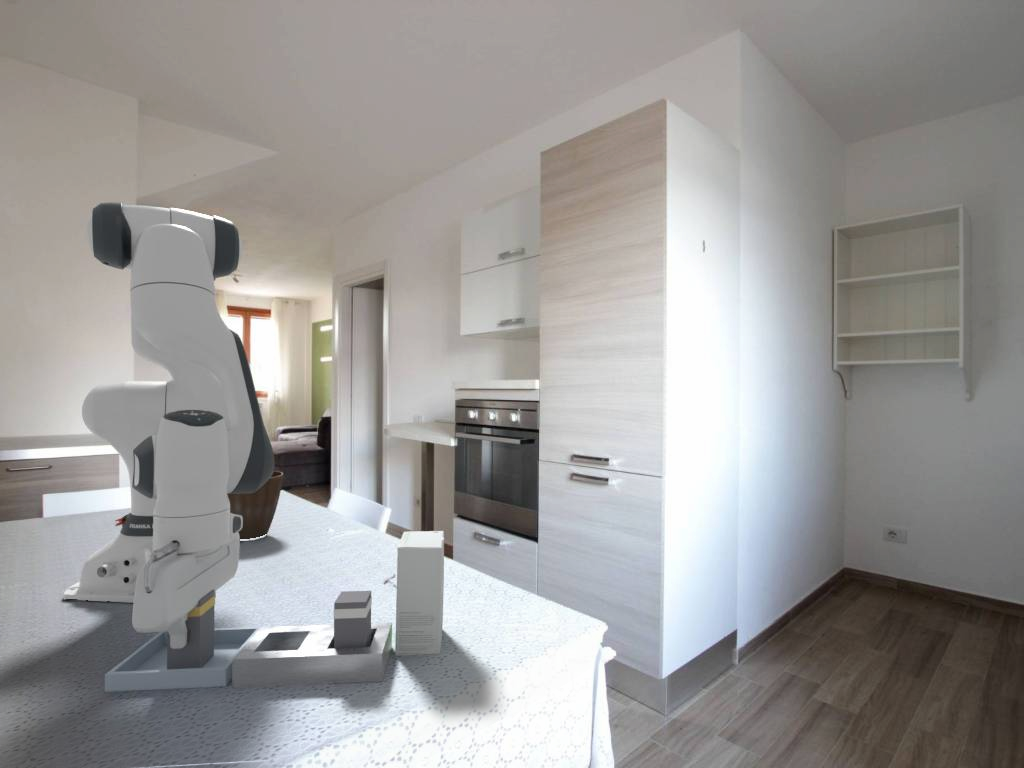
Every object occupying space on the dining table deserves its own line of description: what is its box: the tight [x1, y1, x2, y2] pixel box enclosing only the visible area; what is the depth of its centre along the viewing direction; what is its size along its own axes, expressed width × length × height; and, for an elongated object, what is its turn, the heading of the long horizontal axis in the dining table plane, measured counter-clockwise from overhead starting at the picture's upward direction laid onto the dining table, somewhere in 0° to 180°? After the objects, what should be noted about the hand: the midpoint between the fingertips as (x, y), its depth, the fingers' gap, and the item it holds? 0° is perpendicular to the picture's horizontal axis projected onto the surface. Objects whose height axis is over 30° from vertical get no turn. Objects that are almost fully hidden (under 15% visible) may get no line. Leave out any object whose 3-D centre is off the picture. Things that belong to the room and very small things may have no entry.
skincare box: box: [394, 530, 445, 656], centre depth 77 cm, size 8×7×16 cm
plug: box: [167, 590, 216, 669], centre depth 70 cm, size 4×4×9 cm
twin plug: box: [333, 590, 373, 648], centre depth 70 cm, size 4×4×9 cm
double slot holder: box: [231, 622, 393, 689], centre depth 70 cm, size 18×9×4 cm, turn 95°
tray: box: [104, 626, 262, 693], centre depth 70 cm, size 14×12×3 cm
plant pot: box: [227, 470, 284, 539], centre depth 135 cm, size 15×15×16 cm
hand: (191, 636), depth 70 cm, fingers closed on plug, 4 cm apart
